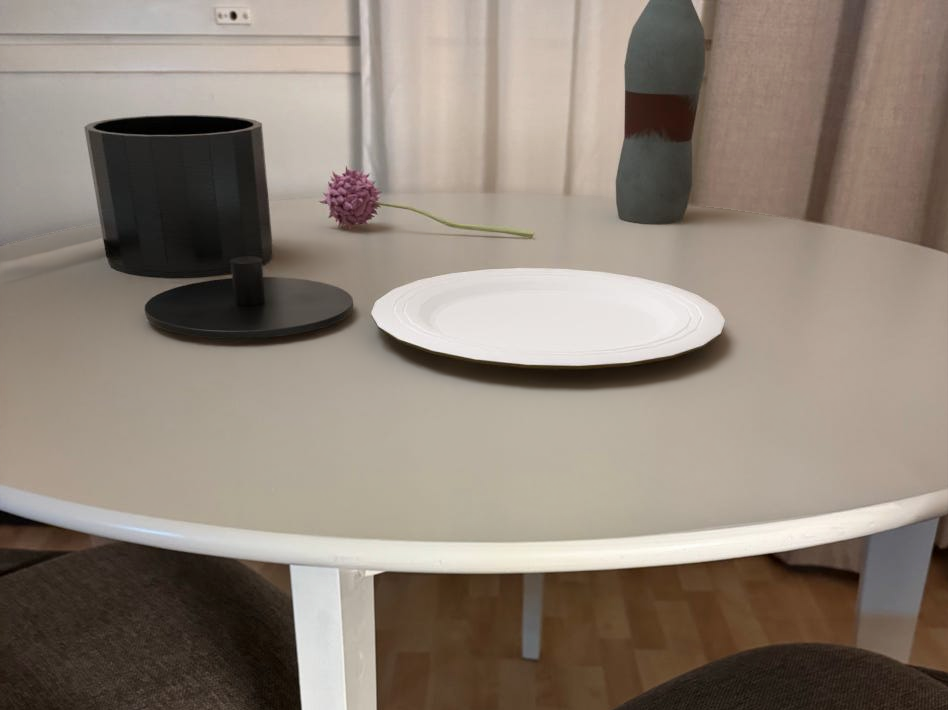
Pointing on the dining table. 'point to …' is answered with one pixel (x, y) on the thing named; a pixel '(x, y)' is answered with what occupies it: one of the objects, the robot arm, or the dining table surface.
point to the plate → (548, 318)
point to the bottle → (660, 112)
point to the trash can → (180, 193)
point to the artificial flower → (358, 201)
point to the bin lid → (248, 305)
